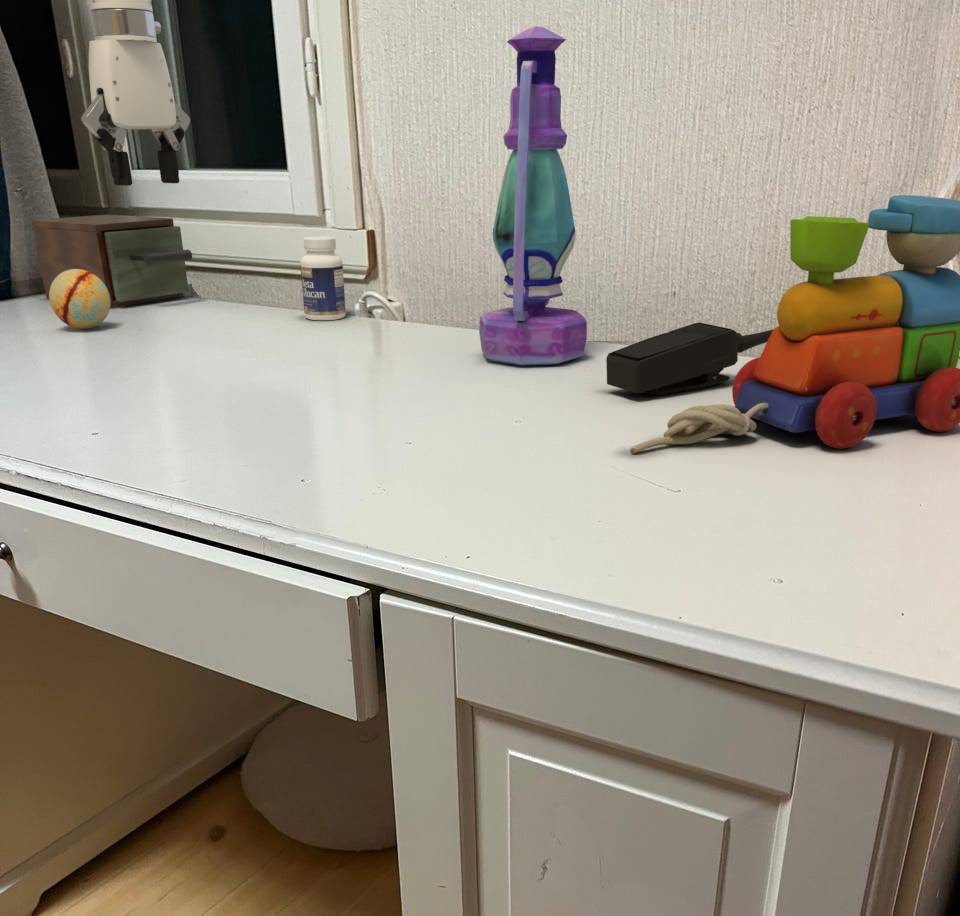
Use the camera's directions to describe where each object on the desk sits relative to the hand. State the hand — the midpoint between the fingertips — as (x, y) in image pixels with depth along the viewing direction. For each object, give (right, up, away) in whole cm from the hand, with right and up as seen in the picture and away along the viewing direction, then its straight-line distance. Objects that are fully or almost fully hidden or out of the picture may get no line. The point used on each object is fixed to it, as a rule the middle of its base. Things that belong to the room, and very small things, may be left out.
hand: (147, 182), depth 133 cm
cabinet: (-9, -11, +14) cm, 20 cm away
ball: (-4, -23, -10) cm, 25 cm away
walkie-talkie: (+66, -38, -40) cm, 86 cm away
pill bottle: (+25, -20, -4) cm, 32 cm away
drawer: (-5, -11, +10) cm, 16 cm away
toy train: (+71, -45, -54) cm, 100 cm away
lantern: (+50, -32, -28) cm, 66 cm away
